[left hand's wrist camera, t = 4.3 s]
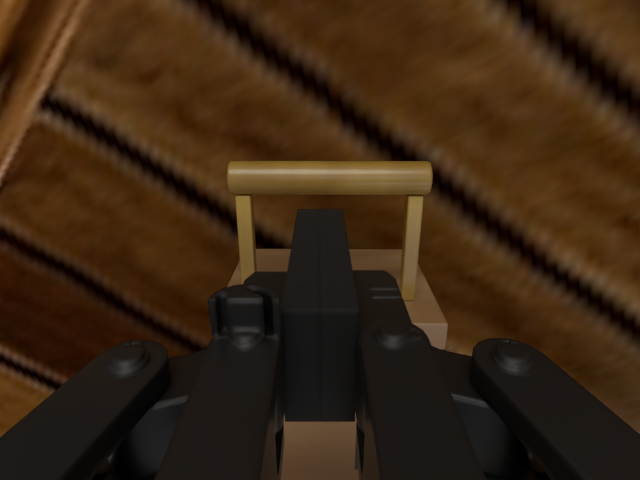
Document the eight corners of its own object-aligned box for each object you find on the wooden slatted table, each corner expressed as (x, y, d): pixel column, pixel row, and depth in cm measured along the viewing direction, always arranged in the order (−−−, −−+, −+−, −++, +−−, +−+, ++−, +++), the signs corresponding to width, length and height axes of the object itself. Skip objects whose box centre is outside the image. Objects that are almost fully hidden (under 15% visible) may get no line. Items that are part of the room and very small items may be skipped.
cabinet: (240, 288, 26) (194, 403, 17) (414, 289, 26) (463, 406, 17) (257, 510, 32) (229, 681, 23) (395, 512, 32) (422, 684, 23)
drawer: (237, 140, 22) (193, 172, 15) (420, 141, 22) (467, 172, 14) (260, 480, 30) (239, 607, 23) (392, 481, 30) (413, 610, 23)
